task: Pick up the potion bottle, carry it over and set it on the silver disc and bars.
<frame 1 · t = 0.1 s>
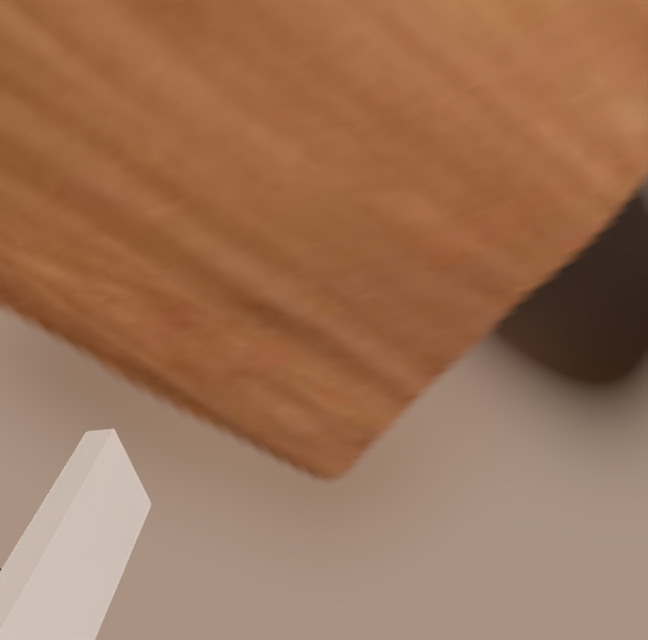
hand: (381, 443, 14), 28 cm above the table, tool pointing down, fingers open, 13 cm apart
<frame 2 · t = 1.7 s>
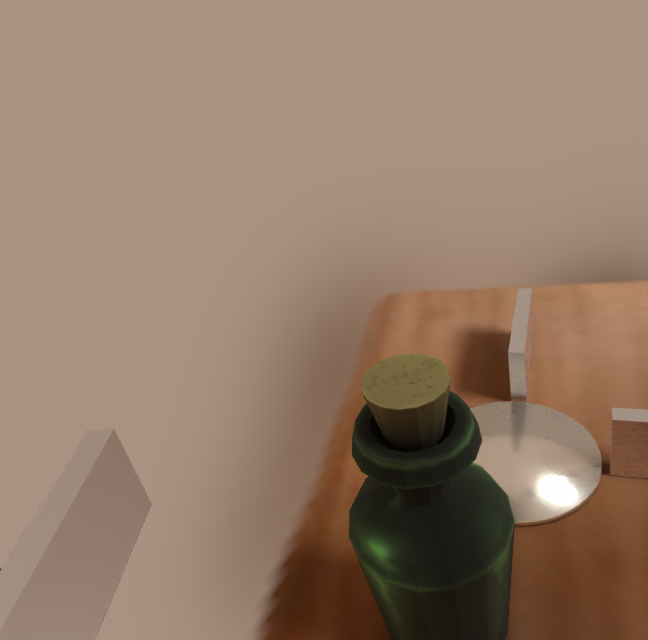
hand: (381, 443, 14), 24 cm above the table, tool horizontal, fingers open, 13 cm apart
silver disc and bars: (511, 459, 44), on the table
potion bottle: (448, 629, 34), on the table
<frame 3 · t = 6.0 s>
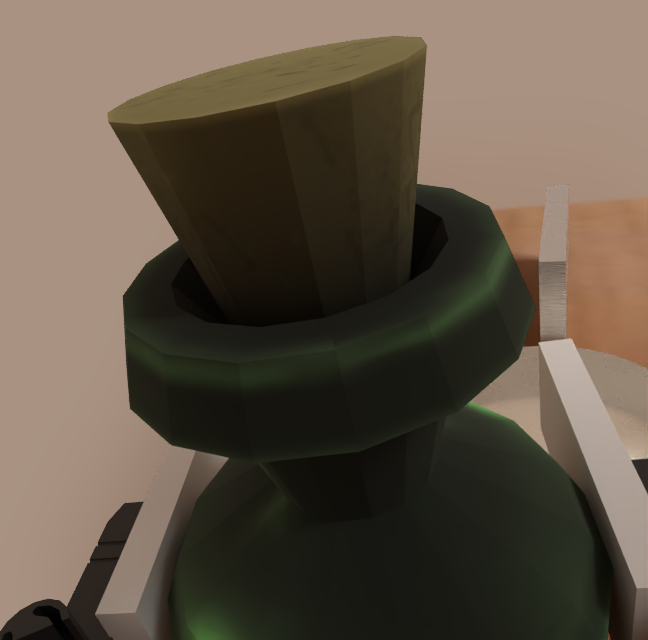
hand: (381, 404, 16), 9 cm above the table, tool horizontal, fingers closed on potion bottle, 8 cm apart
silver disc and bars: (547, 434, 26), on the table
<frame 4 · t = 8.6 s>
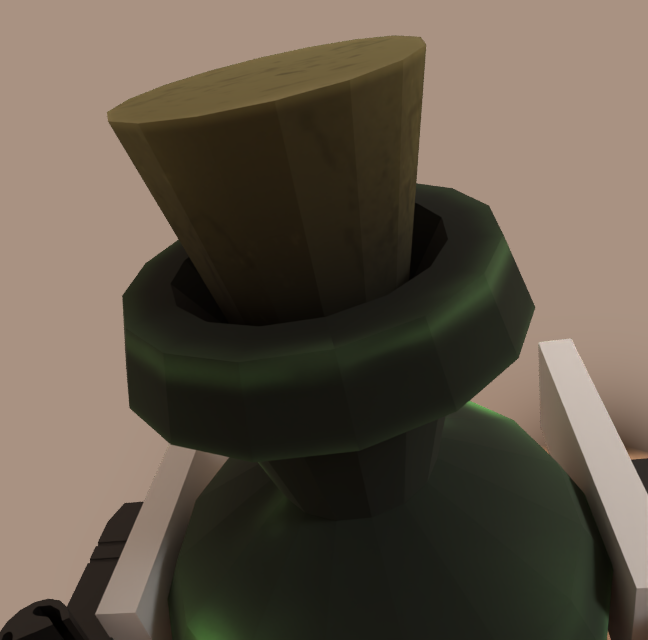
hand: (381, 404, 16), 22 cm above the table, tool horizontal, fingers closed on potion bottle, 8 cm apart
when the fingers open (11 cm above the table, at t = 11.1 s): potion bottle drops 1 cm, resting on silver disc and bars.
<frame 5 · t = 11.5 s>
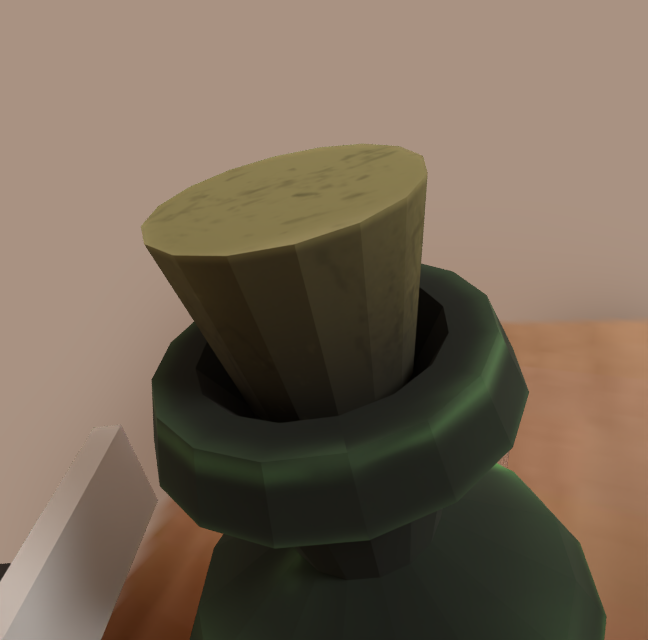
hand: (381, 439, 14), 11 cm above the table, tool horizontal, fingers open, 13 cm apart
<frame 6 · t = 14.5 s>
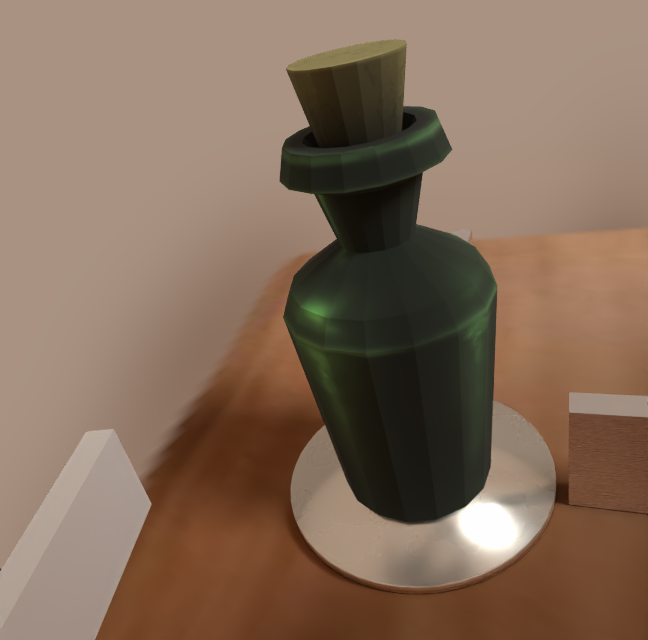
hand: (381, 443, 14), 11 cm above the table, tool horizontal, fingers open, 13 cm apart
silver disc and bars: (418, 476, 28), on the table
potion bottle: (417, 472, 28), resting on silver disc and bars
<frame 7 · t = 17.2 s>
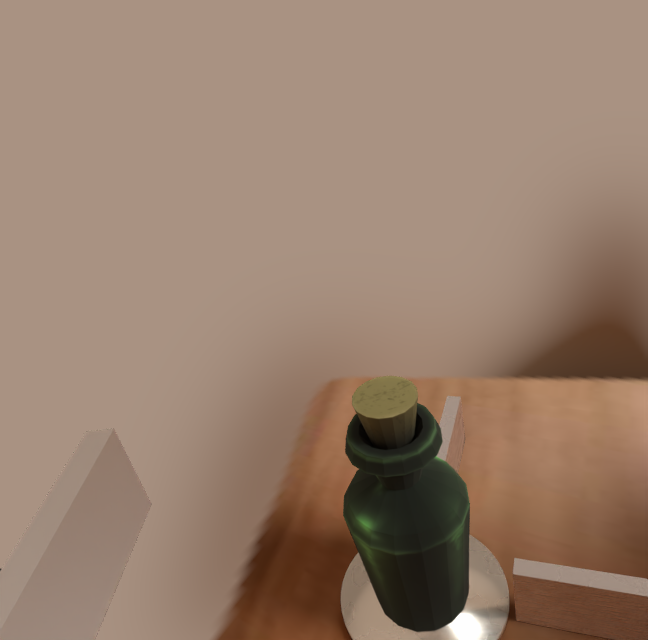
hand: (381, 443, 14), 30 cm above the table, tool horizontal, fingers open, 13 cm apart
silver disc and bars: (423, 594, 43), on the table
potion bottle: (422, 592, 43), resting on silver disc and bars
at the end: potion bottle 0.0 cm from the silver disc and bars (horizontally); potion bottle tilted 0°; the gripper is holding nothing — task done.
